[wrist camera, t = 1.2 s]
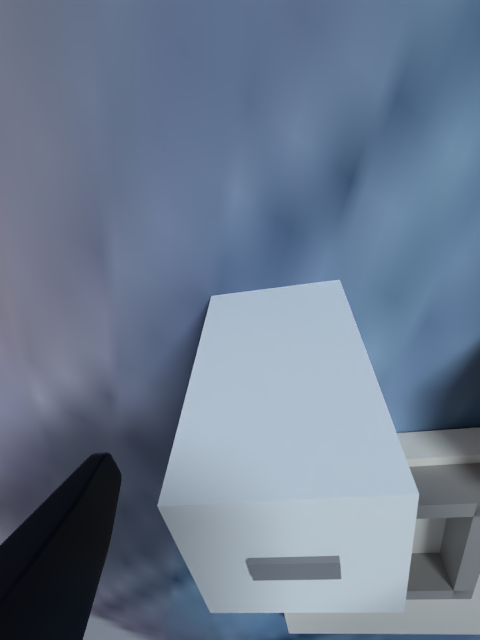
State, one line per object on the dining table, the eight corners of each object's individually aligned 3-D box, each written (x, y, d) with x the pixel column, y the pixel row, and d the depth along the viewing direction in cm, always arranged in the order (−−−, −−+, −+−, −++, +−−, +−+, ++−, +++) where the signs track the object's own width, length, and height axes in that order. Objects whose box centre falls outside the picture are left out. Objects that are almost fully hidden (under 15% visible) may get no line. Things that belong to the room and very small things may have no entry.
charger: (339, 279, 11) (421, 501, 5) (343, 379, 13) (406, 618, 7) (211, 296, 12) (155, 513, 6) (234, 389, 14) (210, 619, 8)
